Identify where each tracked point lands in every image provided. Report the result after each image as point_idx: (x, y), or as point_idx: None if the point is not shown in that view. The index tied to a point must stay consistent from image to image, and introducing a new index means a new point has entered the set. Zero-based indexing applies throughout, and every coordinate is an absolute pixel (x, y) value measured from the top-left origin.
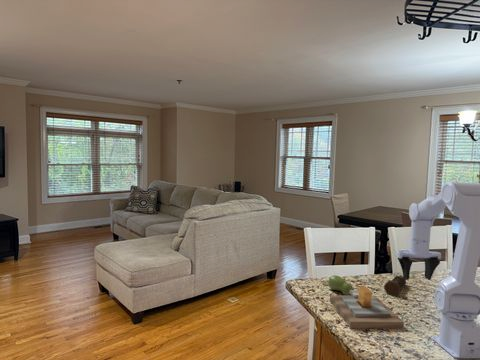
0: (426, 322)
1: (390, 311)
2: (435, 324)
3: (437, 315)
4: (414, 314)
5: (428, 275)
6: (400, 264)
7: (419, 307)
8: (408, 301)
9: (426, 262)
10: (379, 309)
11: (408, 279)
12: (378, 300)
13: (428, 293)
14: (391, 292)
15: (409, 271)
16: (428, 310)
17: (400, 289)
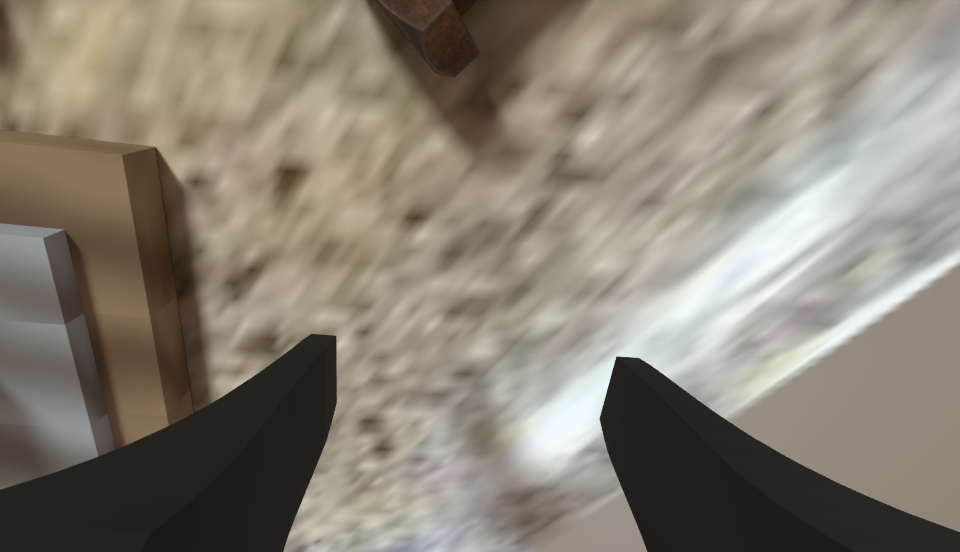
0: (385, 443)
1: (153, 415)
2: (422, 462)
3: (521, 381)
4: (374, 361)
5: (622, 447)
6: (155, 440)
7: (484, 277)
8: (470, 174)
9: (744, 546)
10: (42, 440)
11: (333, 405)
12: (120, 253)
13: (804, 23)
14: (389, 16)
15: (288, 521)
16: (516, 321)
17: (462, 62)
